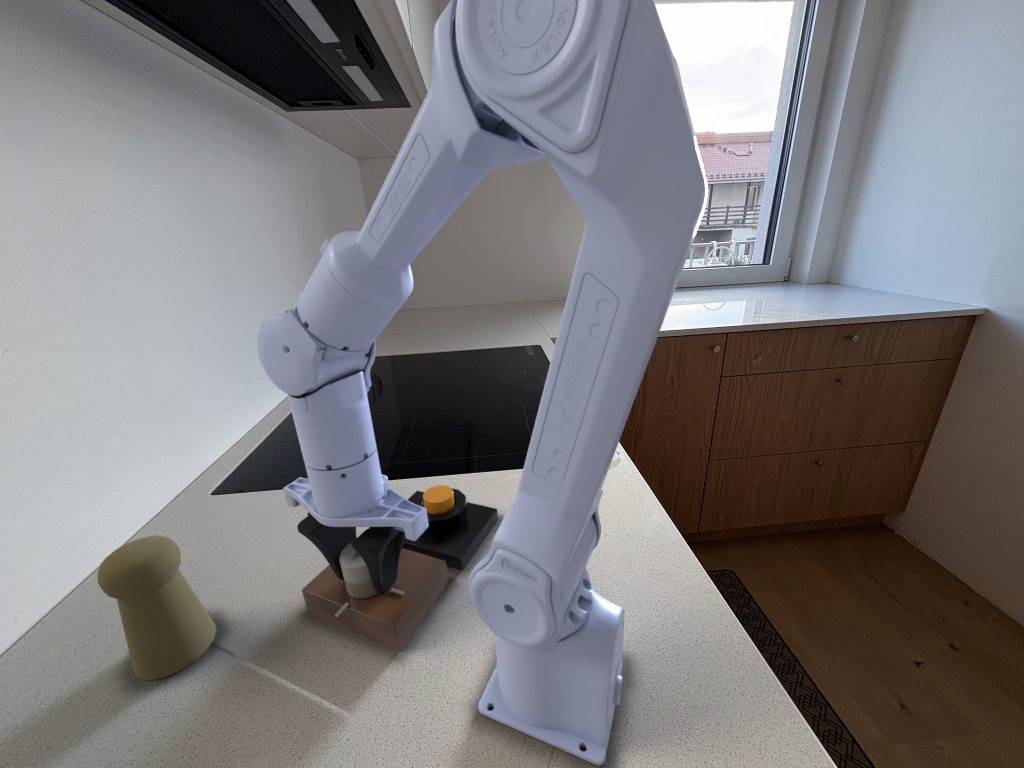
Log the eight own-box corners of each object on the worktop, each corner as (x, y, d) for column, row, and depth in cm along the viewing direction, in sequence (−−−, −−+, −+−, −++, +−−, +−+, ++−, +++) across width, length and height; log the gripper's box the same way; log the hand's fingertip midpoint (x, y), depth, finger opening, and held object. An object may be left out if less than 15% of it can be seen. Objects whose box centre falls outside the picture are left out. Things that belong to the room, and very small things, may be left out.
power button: (460, 500, 52) (458, 488, 51) (444, 518, 49) (442, 505, 48) (435, 494, 53) (433, 482, 52) (418, 511, 50) (416, 499, 49)
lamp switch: (498, 520, 53) (496, 496, 51) (462, 571, 45) (459, 544, 44) (418, 501, 57) (415, 478, 56) (373, 544, 49) (368, 519, 48)
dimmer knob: (370, 604, 38) (363, 570, 36) (337, 591, 39) (328, 558, 38) (398, 572, 41) (392, 540, 40) (366, 562, 43) (360, 530, 41)
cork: (116, 687, 35) (61, 584, 31) (158, 625, 40) (116, 531, 37) (196, 671, 36) (153, 568, 32) (227, 612, 41) (193, 519, 38)
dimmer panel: (448, 583, 43) (445, 559, 42) (392, 663, 35) (386, 635, 34) (365, 557, 48) (360, 534, 46) (298, 623, 40) (291, 597, 39)
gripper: (440, 443, 36) (455, 569, 41) (315, 422, 42) (341, 534, 46) (387, 488, 30) (411, 629, 35) (249, 456, 36) (286, 582, 40)
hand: (368, 579), depth 40 cm, fingers closed on dimmer knob, 4 cm apart
